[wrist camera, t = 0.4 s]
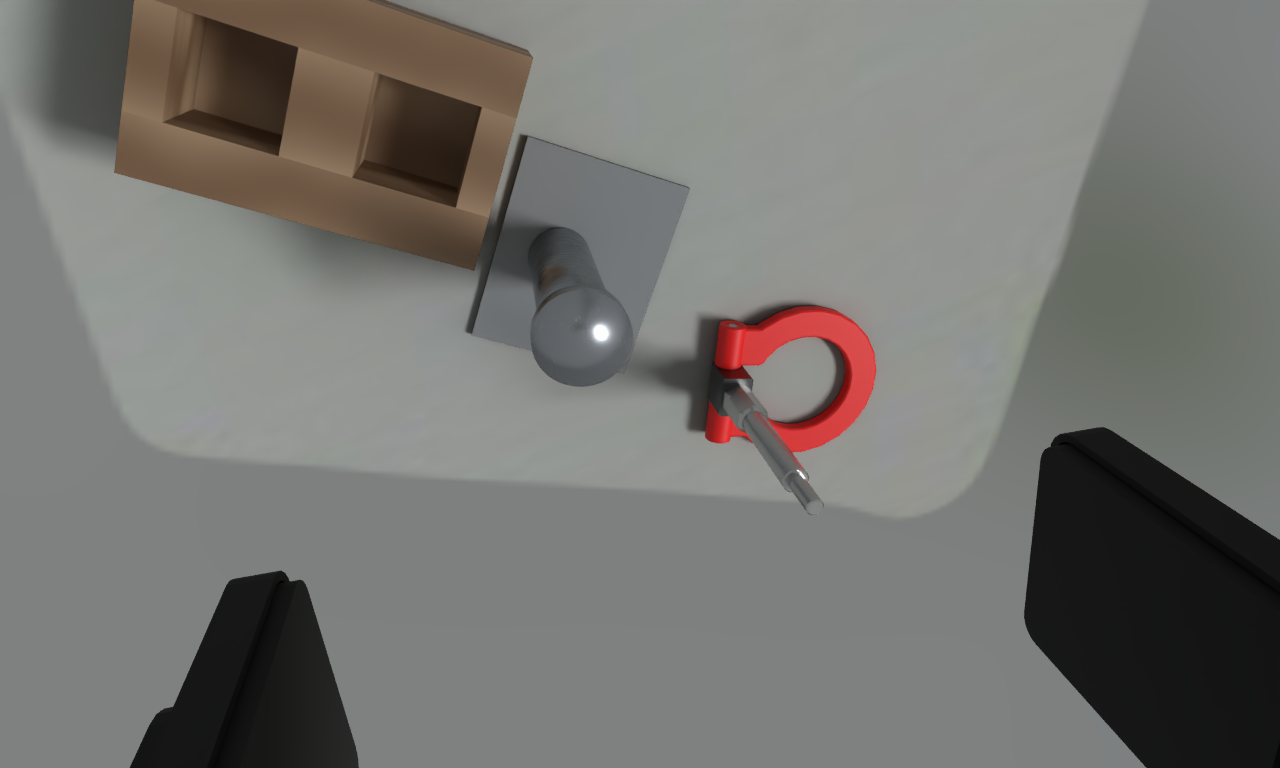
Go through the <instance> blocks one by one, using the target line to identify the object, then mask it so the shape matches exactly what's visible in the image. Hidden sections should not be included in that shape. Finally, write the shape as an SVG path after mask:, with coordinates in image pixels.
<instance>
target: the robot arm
mask: <svg viewBox="0 0 1280 768" xmlns="http://www.w3.org/2000/svg"><path fill="white" fill-rule="evenodd" d="M1024 619H1025V624H1026V627H1027V630H1028V632H1029V634H1030V636H1031V638H1032V640H1033V641H1034V642H1035V644H1036V645H1037V646H1038V647H1039V648H1040V649H1041V650H1042V652H1043V653H1044V654H1045V655H1046V656H1047V657H1048V658H1049V659H1050V661H1051V662H1052V663H1053V664H1054V665H1055V666H1056V667H1057V668H1058V669H1059V671H1060V672H1061V673H1062V674H1063V675H1064V676H1065V677H1066V678H1067V680H1069V682H1070V683H1071V684H1072V685H1073V686H1074V687H1075V688H1076V690H1078V692H1079V693H1080V694H1081V695H1082V696H1083V697H1084V698H1085V699H1086V701H1087V702H1088V703H1089V704H1090V705H1091V706H1092V707H1093V709H1094V710H1095V711H1096V712H1097V713H1098V714H1099V715H1100V716H1101V718H1102V719H1103V720H1104V721H1105V722H1106V723H1107V724H1108V725H1109V726H1110V727H1111V729H1112V730H1113V731H1114V732H1115V733H1116V734H1117V735H1118V737H1119V738H1120V739H1121V740H1122V741H1123V742H1124V743H1125V744H1126V745H1127V747H1128V748H1129V749H1130V750H1131V751H1132V752H1133V753H1134V754H1135V756H1136V757H1137V758H1138V759H1139V760H1140V761H1141V762H1142V763H1143V764H1144V766H1145V767H1147V768H1280V540H1279V539H1277V538H1276V537H1274V536H1273V535H1271V534H1270V533H1268V532H1267V531H1265V530H1264V529H1262V528H1260V527H1259V526H1257V525H1256V524H1254V523H1253V522H1251V521H1250V520H1248V519H1247V518H1245V517H1243V516H1242V515H1240V514H1239V513H1237V512H1236V511H1234V510H1233V509H1231V508H1230V507H1228V506H1227V505H1225V504H1223V503H1222V502H1220V501H1219V500H1217V499H1216V498H1214V497H1213V496H1211V495H1210V494H1208V493H1207V492H1205V491H1204V490H1202V489H1200V488H1199V487H1197V486H1196V485H1194V484H1193V483H1191V482H1190V481H1188V480H1187V479H1185V478H1184V477H1182V476H1180V475H1179V474H1177V473H1176V472H1174V471H1173V470H1171V469H1170V468H1168V467H1167V466H1165V465H1164V464H1162V463H1160V462H1159V461H1157V460H1156V459H1154V458H1153V457H1151V456H1150V455H1148V454H1147V453H1145V452H1143V451H1142V450H1140V449H1139V448H1137V447H1136V446H1134V445H1133V444H1131V443H1129V442H1128V441H1127V440H1125V439H1123V438H1122V437H1120V436H1119V435H1117V434H1116V433H1114V432H1113V431H1111V430H1109V429H1107V428H1104V427H1102V428H1101V427H1100V428H1093V429H1087V430H1081V431H1075V432H1069V433H1064V434H1060V435H1058V436H1057V437H1055V438H1054V440H1053V442H1052V443H1051V447H1049V448H1047V449H1045V450H1044V452H1043V453H1042V457H1041V461H1040V471H1039V480H1038V490H1037V499H1036V509H1035V518H1034V526H1033V536H1032V545H1031V554H1030V563H1029V573H1028V582H1027V591H1026V601H1025V610H1024ZM130 768H359V766H358V756H357V751H356V746H355V743H354V740H353V737H352V733H351V730H350V727H349V724H348V720H347V717H346V714H345V710H344V707H343V704H342V700H341V697H340V694H339V691H338V688H337V684H336V681H335V677H334V674H333V671H332V668H331V664H330V662H329V658H328V654H327V651H326V648H325V645H324V641H323V638H322V635H321V632H320V628H319V625H318V622H317V618H316V615H315V612H314V609H313V605H312V602H311V599H310V595H309V592H308V589H307V587H306V584H305V583H304V582H303V581H302V580H297V581H291V582H290V581H289V579H288V577H287V575H286V574H285V573H284V572H282V571H276V572H271V573H265V574H259V575H254V576H248V577H242V578H236V579H232V580H230V581H229V582H228V584H227V585H226V588H225V590H224V592H223V594H222V597H221V599H220V601H219V603H218V606H217V608H216V610H215V613H214V615H213V618H212V620H211V622H210V624H209V626H208V629H207V631H206V633H205V635H204V638H203V640H202V642H201V645H200V647H199V650H198V652H197V654H196V656H195V658H194V661H193V663H192V665H191V667H190V670H189V672H188V674H187V677H186V679H185V681H184V683H183V686H182V688H181V690H180V693H179V695H178V697H177V700H176V702H175V704H174V706H173V707H170V708H165V709H163V710H162V711H160V712H159V713H157V714H156V716H155V717H154V719H153V720H152V722H151V724H150V725H149V727H148V729H147V732H146V734H145V736H144V738H143V740H142V742H141V744H140V747H139V749H138V751H137V753H136V755H135V758H134V760H133V762H132V764H131V766H130Z"/></svg>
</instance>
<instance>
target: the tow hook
mask: <svg viewBox="0 0 1280 768" xmlns="http://www.w3.org/2000/svg"><path fill="white" fill-rule="evenodd" d="M801 337H819V338H823V339H827V340H829V341H831V342H832V343H834V344H836V345H837V347H838V348H839V349H840V351H841V353H842V355H843V358H844V361H845V370H846V371H845V378H844V383H843V386H842V388H841V390H840V393H839V395H838V396H837V397H836V399H835V400H834V402H833V403H832V404H831V405H830V406H829V407H828V408H827V409H826V410H825V411H824V412H822V413H821V414H819V415H817V416H816V417H814V418H812V419H810V420H807V421H804V422H801V423H793V424H785V423H779V422H775V421H773V420H771V419H769V418H767V411H766V409H765V408H764V407H763V406H762V404H761V403H760V402H759V400H758V399H757V398H756V397H755V395H754V394H753V392H752V386H753V379H752V378H751V376H750V375H749V374H748V373H747V371H746V370H745V369H744V368H743V366H742V365H760V364H762V363H764V362H765V360H766V359H767V357H768V356H770V355H771V354H772V353H773V352H774V351H775V350H776V349H777V348H778V347H780V346H782V345H784V344H785V343H787V342H789V341H792V340H795V339H798V338H801ZM875 374H876V365H875V355H874V351H873V349H872V346H871V344H870V342H869V339H868V337H867V336H866V334H865V333H864V332H863V331H862V330H861V329H860V328H859V326H858V325H857V324H856V323H855V322H854V321H852V320H851V319H850V318H848V317H846V316H845V315H843V314H841V313H839V312H838V311H836V310H832V309H828V308H824V307H820V306H803V307H795V308H792V309H788V310H785V311H782V312H778V313H776V314H775V315H773V316H771V317H770V318H768V319H766V320H764V321H763V322H761V323H759V324H758V325H745V324H743V323H741V322H738V321H732V320H726V321H722V322H720V325H719V332H718V340H717V348H716V355H715V361H714V362H713V365H712V371H711V379H710V387H709V395H708V398H709V401H710V402H709V409H708V417H707V425H706V432H705V438H706V439H707V440H709V441H711V442H714V443H727V442H729V441H730V437H736V436H745V437H747V438H748V439H749V440H750V441H751V442H752V443H754V445H755V446H756V448H757V449H758V451H759V452H760V454H761V455H762V456H763V458H764V459H765V461H766V462H767V464H768V465H769V467H770V468H771V470H772V471H773V473H774V474H775V475H776V477H777V478H778V480H779V481H780V483H781V484H782V486H783V487H784V489H785V490H787V491H788V492H793V493H794V495H795V496H796V497H797V499H798V500H799V502H800V503H801V505H802V506H803V507H804V509H805V510H806V512H807V513H808V514H810V515H816V514H818V513H820V512H821V511H822V509H823V507H824V504H823V502H822V500H821V499H820V498H819V496H818V495H817V494H816V492H815V491H814V490H813V488H812V487H811V485H810V484H809V483H808V480H809V476H808V473H807V472H806V471H805V469H804V468H803V467H802V465H801V464H800V463H799V461H798V460H797V459H796V457H795V456H794V455H793V453H792V452H801V451H806V450H809V449H812V448H815V447H818V446H822V445H823V444H825V443H827V442H829V441H830V440H832V439H834V438H836V437H837V436H839V435H840V434H841V433H842V432H843V431H845V430H846V429H847V428H848V427H849V426H850V425H851V424H852V423H854V421H855V420H856V418H857V417H858V416H859V414H860V413H861V412H862V410H863V409H864V408H865V406H866V404H867V401H868V399H869V397H870V394H871V392H872V390H873V386H874V380H875Z"/></svg>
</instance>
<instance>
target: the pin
mask: <svg viewBox="0 0 1280 768" xmlns="http://www.w3.org/2000/svg"><path fill="white" fill-rule="evenodd" d="M528 262H529V268H530V274H531V280H532V286H533V292H534V298H535V304H536V311H535V313H534V316H533V318H532V322H531V326H530V339H531V346H532V352H533V355H534V358H535V360H536V362H537V363H538V365H539V366H540V368H541V369H542V370H543V371H544V372H545V373H546V374H547V375H548V376H549V377H551V378H552V379H554V380H556V381H558V382H560V383H563V384H566V385H570V386H580V387H581V386H590V385H595V384H598V383H601V382H603V381H605V380H607V379H609V378H610V377H612V376H613V375H615V374H616V373H617V372H618V371H619V370H620V369H621V368H622V367H623V365H624V364H625V363H626V361H627V359H628V357H629V355H630V353H631V349H632V345H633V329H632V325H631V321H630V319H629V317H628V315H627V312H626V310H625V308H624V307H623V305H622V303H621V302H620V301H619V300H618V299H617V298H616V297H615V296H614V295H613V294H611V293H610V292H608V291H607V290H606V288H605V286H604V284H603V281H602V279H601V276H600V274H599V271H598V269H597V266H596V264H595V261H594V259H593V256H592V254H591V252H590V249H589V247H588V244H587V242H586V241H585V239H584V238H583V237H582V236H581V235H580V234H579V233H577V232H576V231H574V230H572V229H569V228H565V227H554V228H550V229H547V230H545V231H543V232H542V233H540V234H539V235H538V236H537V237H536V238H535V239H534V240H533V242H532V244H531V246H530V249H529V253H528Z"/></svg>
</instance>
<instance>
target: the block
mask: <svg viewBox="0 0 1280 768" xmlns="http://www.w3.org/2000/svg"><path fill="white" fill-rule="evenodd" d="M532 60H533V57H532V56H531V54H530V53H529V51H528V50H525V49H523V48H520V47H517V46H514V45H511V44H508V43H505V42H503V41H500V40H497V39H494V38H491V37H488V36H486V35H483V34H480V33H477V32H474V31H471V30H468V29H466V28H463V27H460V26H457V25H454V24H451V23H448V22H446V21H443V20H440V19H437V18H434V17H431V16H428V15H426V14H423V13H420V12H417V11H414V10H411V9H408V8H406V7H403V6H400V5H397V4H394V3H391V2H388V1H386V0H134V6H133V15H132V23H131V32H130V41H129V49H128V58H127V67H126V75H125V84H124V93H123V101H122V110H121V119H120V127H119V136H118V145H117V153H116V162H115V171H114V173H117V174H121V175H125V176H128V177H132V178H136V179H139V180H143V181H147V182H150V183H154V184H158V185H161V186H165V187H169V188H172V189H176V190H180V191H184V192H187V193H191V194H195V195H198V196H202V197H206V198H209V199H213V200H217V201H220V202H224V203H228V204H231V205H235V206H239V207H242V208H246V209H250V210H253V211H257V212H261V213H264V214H268V215H272V216H275V217H279V218H283V219H286V220H290V221H294V222H297V223H301V224H305V225H308V226H312V227H316V228H319V229H323V230H327V231H330V232H334V233H338V234H341V235H345V236H349V237H352V238H356V239H360V240H363V241H367V242H371V243H374V244H378V245H382V246H385V247H389V248H393V249H396V250H400V251H404V252H408V253H411V254H415V255H419V256H422V257H426V258H430V259H433V260H437V261H441V262H444V263H448V264H452V265H455V266H459V267H463V268H466V269H470V270H475V267H476V263H477V259H478V256H479V252H480V249H481V245H482V241H483V238H484V234H485V230H486V227H487V223H488V220H489V216H490V212H491V209H492V205H493V202H494V198H495V194H496V191H497V187H498V183H499V180H500V176H501V173H502V169H503V165H504V162H505V158H506V154H507V151H508V147H509V144H510V140H511V136H512V133H513V129H514V126H515V122H516V118H517V115H518V111H519V107H520V104H521V100H522V97H523V93H524V89H525V86H526V82H527V79H528V75H529V71H530V68H531V64H532Z"/></svg>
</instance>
